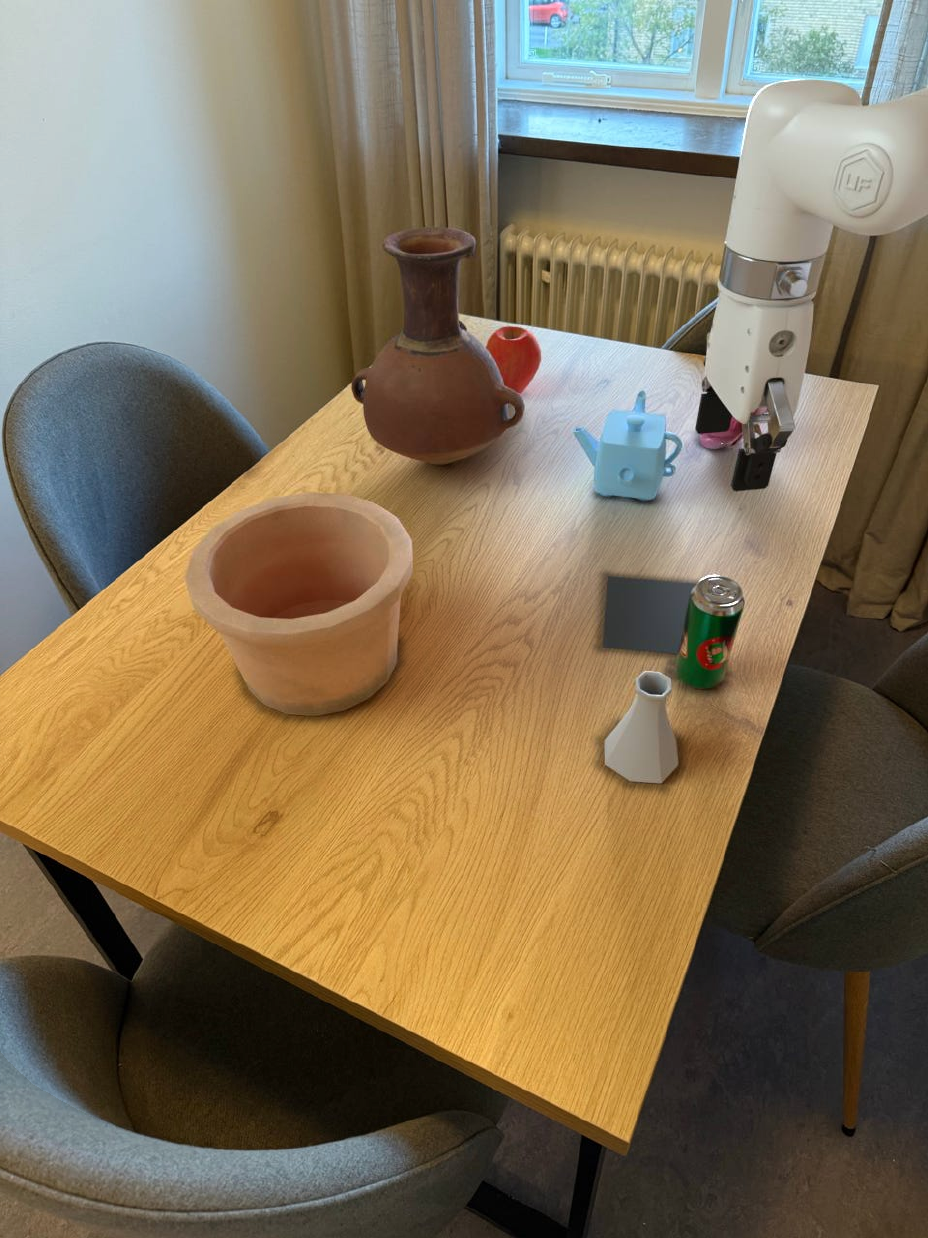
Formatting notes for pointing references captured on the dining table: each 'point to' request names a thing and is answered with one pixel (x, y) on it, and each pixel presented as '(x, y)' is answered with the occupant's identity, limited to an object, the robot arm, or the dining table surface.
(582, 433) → the teapot
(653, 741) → the flask
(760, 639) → the dining table surface
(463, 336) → the vase
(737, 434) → the flower
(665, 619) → the mat
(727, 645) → the soda can
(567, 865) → the dining table surface
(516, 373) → the apple
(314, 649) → the pottery
